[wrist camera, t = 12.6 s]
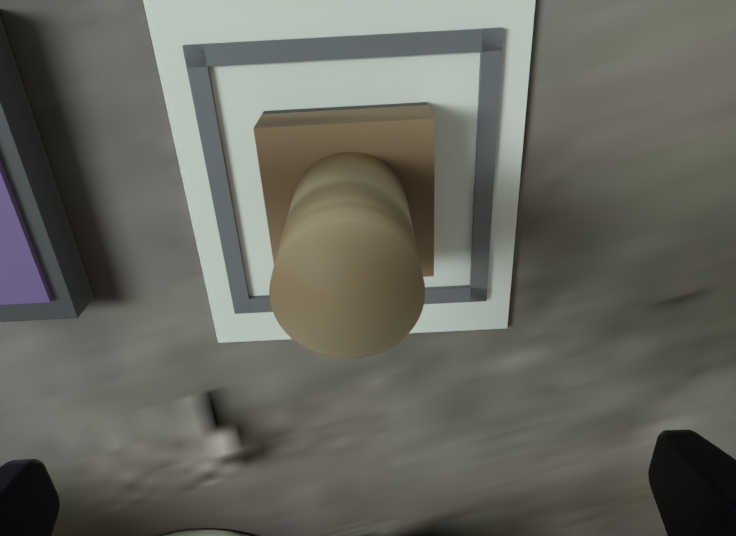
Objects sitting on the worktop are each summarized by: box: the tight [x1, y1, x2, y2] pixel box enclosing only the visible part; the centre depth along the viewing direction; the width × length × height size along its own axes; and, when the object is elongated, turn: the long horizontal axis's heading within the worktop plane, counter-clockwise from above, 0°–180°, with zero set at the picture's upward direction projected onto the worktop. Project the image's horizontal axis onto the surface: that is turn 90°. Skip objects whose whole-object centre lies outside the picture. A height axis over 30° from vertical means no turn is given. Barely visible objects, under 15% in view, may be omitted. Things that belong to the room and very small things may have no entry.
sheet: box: [143, 0, 536, 343], centre depth 18 cm, size 12×11×1 cm
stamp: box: [253, 102, 435, 358], centre depth 15 cm, size 5×5×7 cm
